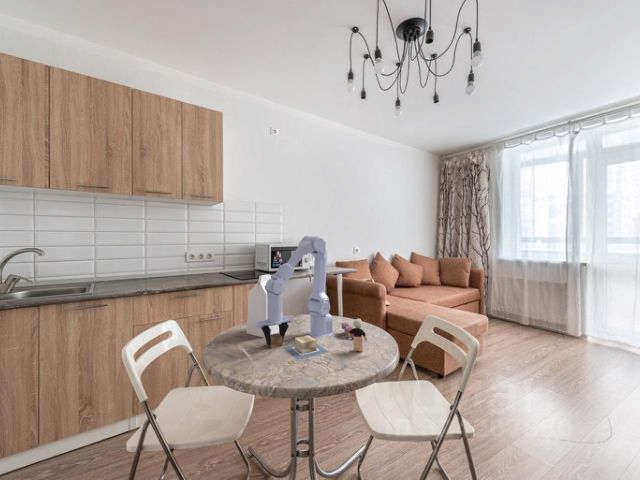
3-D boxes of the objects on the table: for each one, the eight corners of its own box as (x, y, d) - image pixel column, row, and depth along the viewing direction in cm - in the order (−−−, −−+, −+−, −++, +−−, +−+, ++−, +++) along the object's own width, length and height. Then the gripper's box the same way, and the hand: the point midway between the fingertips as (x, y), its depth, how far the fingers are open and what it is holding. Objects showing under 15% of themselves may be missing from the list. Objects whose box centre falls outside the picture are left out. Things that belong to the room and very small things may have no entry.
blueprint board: (312, 342, 120) (312, 340, 120) (329, 353, 108) (329, 351, 108) (283, 348, 113) (283, 346, 113) (298, 361, 102) (298, 359, 102)
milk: (264, 326, 141) (264, 272, 140) (283, 330, 135) (283, 274, 134) (246, 333, 130) (246, 275, 130) (266, 337, 125) (265, 277, 124)
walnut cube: (277, 344, 118) (277, 333, 118) (282, 347, 114) (282, 336, 114) (267, 346, 116) (267, 335, 116) (271, 350, 112) (271, 338, 112)
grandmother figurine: (368, 351, 110) (368, 318, 110) (366, 355, 107) (366, 321, 106) (348, 348, 113) (348, 316, 113) (346, 352, 109) (346, 319, 109)
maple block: (308, 345, 115) (308, 335, 115) (316, 350, 110) (316, 340, 110) (295, 348, 112) (295, 338, 112) (302, 353, 107) (302, 343, 106)
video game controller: (345, 335, 132) (338, 322, 132) (353, 330, 132) (347, 317, 132) (349, 343, 122) (341, 329, 122) (358, 338, 123) (351, 324, 122)
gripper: (260, 314, 107) (260, 350, 108) (295, 308, 115) (295, 342, 115) (254, 309, 113) (254, 344, 114) (288, 305, 121) (288, 337, 121)
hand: (274, 343), depth 115 cm, fingers open, 5 cm apart
